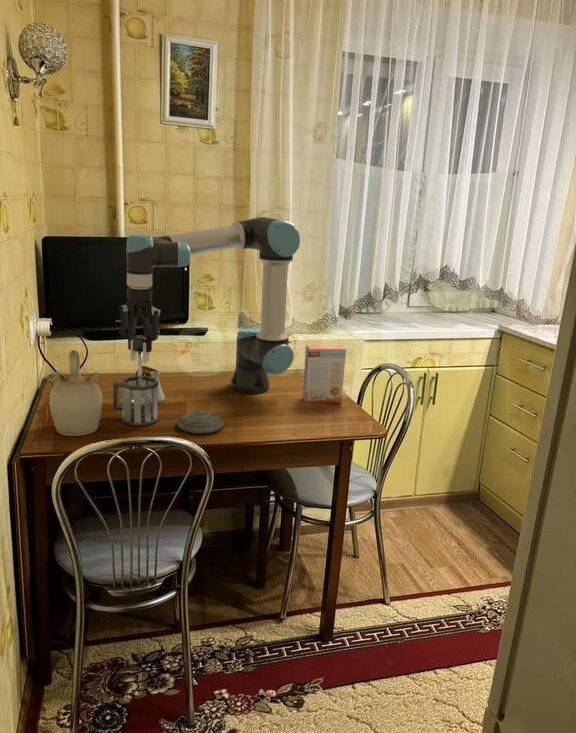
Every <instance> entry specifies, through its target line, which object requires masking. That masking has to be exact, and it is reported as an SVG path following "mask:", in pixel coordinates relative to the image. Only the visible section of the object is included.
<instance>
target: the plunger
mask: <svg viewBox="0 0 576 733" xmlns="http://www.w3.org/2000/svg"><path fill="white" fill-rule="evenodd" d="M144 341H145V336H142V335H139V336H138V335H137V336H135V337H134V351H137V370H138V386H142V366H143V342H144ZM151 403H152V396H151ZM132 405H134V395H132ZM141 405H144V394H142V391H141Z"/></svg>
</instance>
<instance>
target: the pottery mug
mask: <svg viewBox="0 0 576 733" xmlns="http://www.w3.org/2000/svg"><path fill="white" fill-rule="evenodd" d="M151 372H159V373H160V371H158V370H157V369H154V368H152V367H149V366H147V365H142V376H149V377H151V375H150V373H151ZM135 376H138V369H137V370H136V371H135ZM146 385H148V381H147V380H146ZM136 386H138V380H136Z"/></svg>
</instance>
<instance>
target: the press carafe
mask: <svg viewBox="0 0 576 733" xmlns="http://www.w3.org/2000/svg"><path fill="white" fill-rule="evenodd" d="M136 380H138V376H134V375H132V376H127V377H125V378H123V379H121V382H119V381H114V382H112V388H113V389H112V390H113V396H112V397H113V410H115V411H122V416H121V422H122V423H123V425H126V426H131V427H136V428H137V427H139V428H140V427H149V426H152V425H155V424H157V423H158V422H159V414H158V408H159V407H158V403H159V402H158V381H157V379H156V378H153V377H149V376H146V375H144V376H142V386H136ZM146 380H147V381H148V385H146ZM120 388H121V390H122V391H121V392H122V395H121V396H122V398H121V400H122V401H121V402H122V405H120V400H119V399H120V397H119V396H120V394H119V393H120V391H119V389H120ZM141 391H142V394H144V405H141ZM132 395H134V405H132ZM151 396H152V403H151Z"/></svg>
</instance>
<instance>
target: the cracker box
mask: <svg viewBox="0 0 576 733" xmlns="http://www.w3.org/2000/svg"><path fill="white" fill-rule="evenodd" d="M346 354H347V349H346V347H344V346H343V345H342V344H341V345H334V344H333V345H332V344H331V345H330V344H328V345H327V344H326V345H325V344H323V345H321V344H320V345H319V344H306V345H305V356H304V358H305V359H304V370H303V371H304V372H303V385H302V386H303V387H302V389H303V390H302V399H303V401H304V403H305V404H308V403H309V404H310V403H314V404H315V403H319V404H320V403H324V404H325V403H328V404H329V403H330V404H331V403H335V404H336V403H337V404H338V403H339V404H340V403H342V401H343V386H344V376H345V366H346V357H347V356H346Z"/></svg>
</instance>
